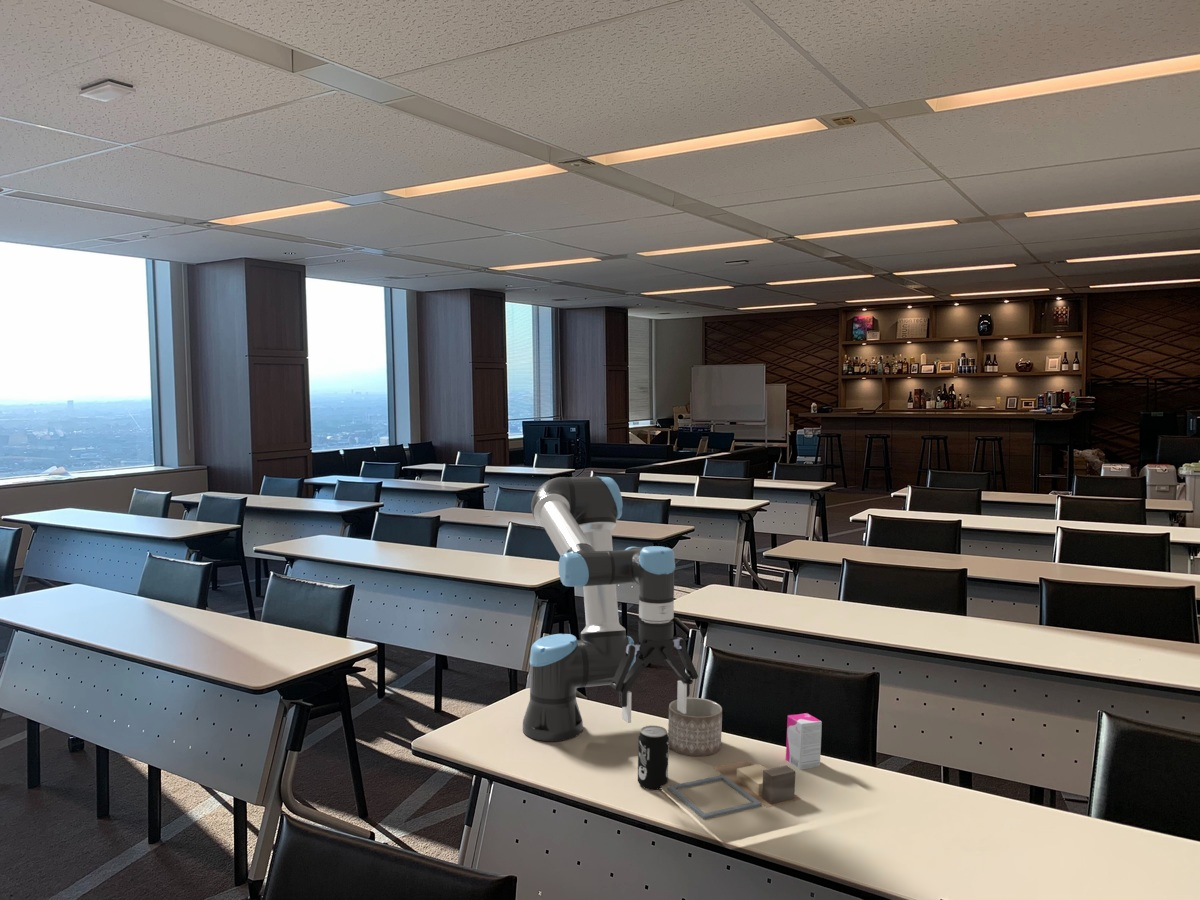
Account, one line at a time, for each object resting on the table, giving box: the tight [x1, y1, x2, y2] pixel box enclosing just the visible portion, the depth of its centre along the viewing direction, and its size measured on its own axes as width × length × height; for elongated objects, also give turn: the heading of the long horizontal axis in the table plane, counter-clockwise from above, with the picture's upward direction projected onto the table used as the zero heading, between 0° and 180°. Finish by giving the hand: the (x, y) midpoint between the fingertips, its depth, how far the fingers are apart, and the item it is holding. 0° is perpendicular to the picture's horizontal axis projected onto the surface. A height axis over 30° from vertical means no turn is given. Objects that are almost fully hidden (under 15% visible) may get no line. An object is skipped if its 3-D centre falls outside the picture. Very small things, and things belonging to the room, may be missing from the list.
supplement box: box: [785, 712, 823, 770], centre depth 192 cm, size 6×6×12 cm
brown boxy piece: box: [712, 760, 802, 808], centre depth 182 cm, size 20×9×7 cm, turn 25°
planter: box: [667, 697, 723, 757], centre depth 201 cm, size 13×13×10 cm
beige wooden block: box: [737, 763, 768, 796], centre depth 181 cm, size 8×6×2 cm
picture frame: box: [667, 774, 762, 820], centre depth 175 cm, size 14×14×2 cm
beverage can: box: [637, 725, 670, 791], centre depth 182 cm, size 7×7×12 cm
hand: (654, 716), depth 181 cm, fingers open, 13 cm apart
